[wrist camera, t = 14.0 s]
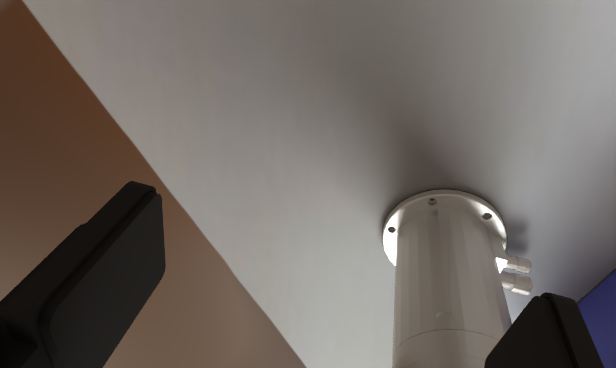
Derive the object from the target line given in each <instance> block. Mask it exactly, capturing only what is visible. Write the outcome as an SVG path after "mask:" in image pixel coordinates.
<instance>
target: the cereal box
mask: <svg viewBox="0 0 616 368" xmlns="http://www.w3.org/2000/svg"><path fill="white" fill-rule="evenodd" d="M577 305H578V307H579V309H580V312H581V314H582V317H583V319H584V321H585V324H586V326H587V328H588V331H589V333H590V335H591V338H592V340H593V342H594V345H595V347H596V349H597V352H598V354H599V356H600V359H601V361H602V363H603V366H604V368H616V269H614V270H613V271H612V272H611V273H610V274H609V275H608V276H607V277H606V278H604V279H603V280H602V281H601V282H600V283H599V284H598V285H597V286H595V287H594V288H593V289H592V290H591V291H590V292H589V293H588V294H586V295H585V296H584V297H583V298H582V299H581V300H580V301H579V302H578V303H577Z"/></svg>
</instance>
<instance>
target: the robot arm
mask: <svg viewBox="0 0 616 368" xmlns="http://www.w3.org/2000/svg"><path fill="white" fill-rule="evenodd" d="M382 243H383V247H384V251H385V253H386V255H387V257H388V259H389V260H390V261H391V262H392V264H393V265H394V266H395V267H396V273H395V302H394V331H393V363H392V368H604V366H603V363H602V361H601V359H600V356H599V354H598V352H597V349H596V347H595V345H594V342H593V340H592V338H591V335H590V333H589V331H588V328H587V326H586V324H585V321H584V319H583V317H582V314H581V312H580V309H579V307H578V305H577V303H576V302H575V301H574V300H573V299H570V298H566V297H563V296H559V295H555V294H552V293H547V292H546V293H543V294H542V295H541V296H540V297H539V296H535V297H533V298H532V299H531V301H530V302H529V303H528V305H527V306H526V307H525V308H524V310H523V311H522V312H521V314H520V315H519V316H518V317H517V319H516V320H515V321H514V323H513V324H512V322H511V318H510V314H509V310H508V306H507V302H506V298H505V294H504V290H503V288H504V289H507V290H508V291H511V292H515V293H518V294H522V295H529V293H530V292H531V290H532V285H533V283H532V279H531V278H530V277H526V276H522V275H519V274H515V273H508V272H504V271H502V269H504V268H505V267H507V268H510V269H513V270H515V271H519V272H523V273H528V272H529V271H530V269H531V261H530V260H527V259H523V258H519V257H513V256H509V255H508V253H507V252H505V249H506V244H507V234H506V229H505V226H504V223H503V220H502V218H501V217H500V215H499V213H498V212H497V211H496V210H495V209H494V208H493V207H492V206H491V205H490V204H489V203H487V202H486V201H484V200H483V199H481V198H479V197H477V196H475V195H472V194H470V193H466V192H462V191H458V190H447V189H444V190H431V191H427V192H422V193H419V194H416V195H414V196H411V197H409V198H407V199H406V200H404V201H402V202H401V203H400V204H398V205H397V206H396V207H395V208H394V209H393V210H392V211H391V213H390V214H389V215H388V217H387V219H386V221H385V224H384V228H383V237H382ZM164 272H165V248H164V231H163V214H162V198H161V195H160V194H157V193H156V189H155V188H154V187H152V186H149V185H145V184H142V183H138V182H134V181H130V182H129V183H127V184H126V185H125V186H124V187H123V188H122V189H121V190H120V191H119V192H118V193H117V194H116V195H115V196H113V198H111V199H110V200H109V201H108V202H107V204H105V205H104V206H103V207H102V208H101V209H100V210H99V211H98V212H97V213H96V214H95V215H94V216H93V217H92V218H91V219H90V220H89V221H88V222H87V223H85V224H82V225H80V226H79V227H78V228H76V229H75V230H74V231H73V232H72V233H71V234H70V235H69V236H68V237H67V238H66V239H65V240H64V241H63V242H61V243H60V244H59V245H58V246H57V247H56V248H55V249H54V250H53V251H52V252H51V253H50V254H49V255H48V256H47V257H46V258H45V259H44V260H43V261H42V262H41V263H40V264H39V265H38V266H37V267H36V268H35V269H34V270H32V271H31V273H29V274H28V275H27V276H26V277H25V278H24V279H23V280H22V281H21V282H20V283H19V284H18V285H17V286H16V287H15V288H14V289H13V290H12V291H11V292H10V293H9V294H8V295H7V296H6V297H5V298H4V299H2V300H1V301H0V368H103V366H104V365H105V363H106V362H107V360H108V359H109V357H110V356H111V354H112V353H113V351H114V350H115V348H116V346H117V345H118V344H119V342H120V341H121V339H122V338H123V336H124V335H125V333H126V332H127V330H128V329H129V327H130V326H131V324H132V323H133V321H134V320H135V318H136V316H137V315H138V313H139V312H140V311H141V309H142V308H143V306H144V305H145V303H146V301H147V300H148V299H149V297H150V296H151V294H152V292H153V291H154V289H155V288H156V286H157V285H158V283H159V282H160V280H161V279H162V277H163V274H164Z"/></svg>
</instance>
